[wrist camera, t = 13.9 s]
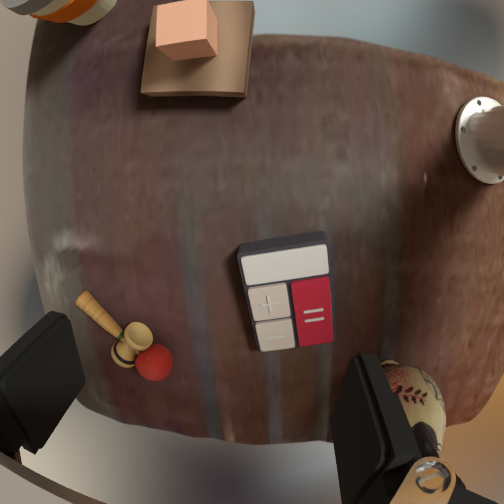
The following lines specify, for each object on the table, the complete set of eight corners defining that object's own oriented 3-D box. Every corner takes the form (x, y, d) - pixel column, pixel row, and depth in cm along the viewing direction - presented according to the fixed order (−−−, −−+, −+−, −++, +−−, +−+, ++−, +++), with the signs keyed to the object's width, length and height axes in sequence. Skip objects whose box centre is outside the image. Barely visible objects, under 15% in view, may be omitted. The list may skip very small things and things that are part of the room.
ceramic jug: (404, 408, 48) (450, 539, 20) (329, 411, 49) (348, 565, 20) (438, 336, 42) (526, 477, 14) (353, 335, 43) (413, 521, 15)
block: (216, 18, 27) (206, -3, 22) (217, 55, 29) (206, 38, 23) (174, 24, 28) (157, 5, 22) (173, 61, 29) (155, 46, 24)
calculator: (257, 356, 41) (235, 256, 36) (258, 337, 45) (238, 243, 40) (337, 345, 40) (330, 241, 35) (332, 326, 44) (324, 229, 39)
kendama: (82, 309, 47) (161, 380, 47) (61, 319, 40) (148, 399, 41) (102, 275, 46) (187, 351, 46) (82, 283, 39) (176, 368, 40)
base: (254, 14, 30) (253, 1, 26) (246, 98, 34) (243, 92, 30) (163, 16, 31) (153, 5, 27) (152, 97, 34) (140, 92, 31)
